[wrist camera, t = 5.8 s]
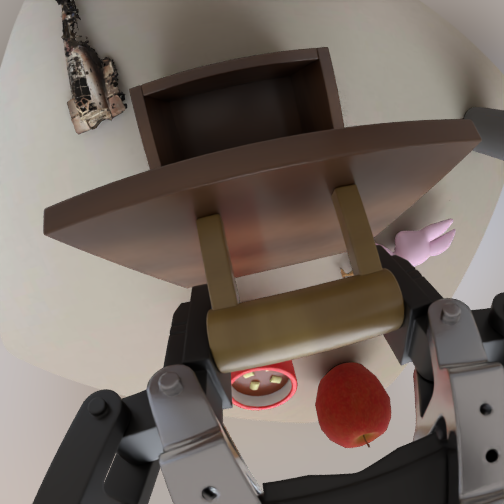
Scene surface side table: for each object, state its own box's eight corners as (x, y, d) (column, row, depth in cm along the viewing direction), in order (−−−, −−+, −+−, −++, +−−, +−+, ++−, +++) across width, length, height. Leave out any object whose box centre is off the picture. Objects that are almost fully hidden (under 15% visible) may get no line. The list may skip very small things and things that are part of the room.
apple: (315, 348, 38) (344, 434, 26) (379, 344, 39) (419, 417, 27) (300, 395, 43) (319, 471, 30) (358, 389, 44) (386, 457, 31)
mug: (266, 283, 33) (277, 328, 26) (292, 354, 38) (304, 399, 31) (200, 303, 34) (195, 351, 27) (236, 370, 39) (239, 416, 32)
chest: (161, 97, 24) (128, 89, 15) (295, 68, 24) (328, 46, 15) (197, 229, 30) (186, 279, 21) (319, 202, 30) (357, 240, 21)
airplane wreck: (92, -28, 16) (71, -47, 11) (132, 111, 24) (111, 111, 19) (47, -1, 17) (21, -13, 12) (82, 136, 25) (54, 142, 20)
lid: (42, 208, 7) (63, 400, 6) (471, 118, 6) (532, 283, 5) (184, 277, 21) (198, 349, 20) (358, 237, 21) (376, 307, 19)
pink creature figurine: (350, 289, 36) (452, 239, 32) (360, 321, 31) (474, 264, 27) (331, 251, 34) (442, 196, 29) (341, 282, 29) (468, 218, 24)
